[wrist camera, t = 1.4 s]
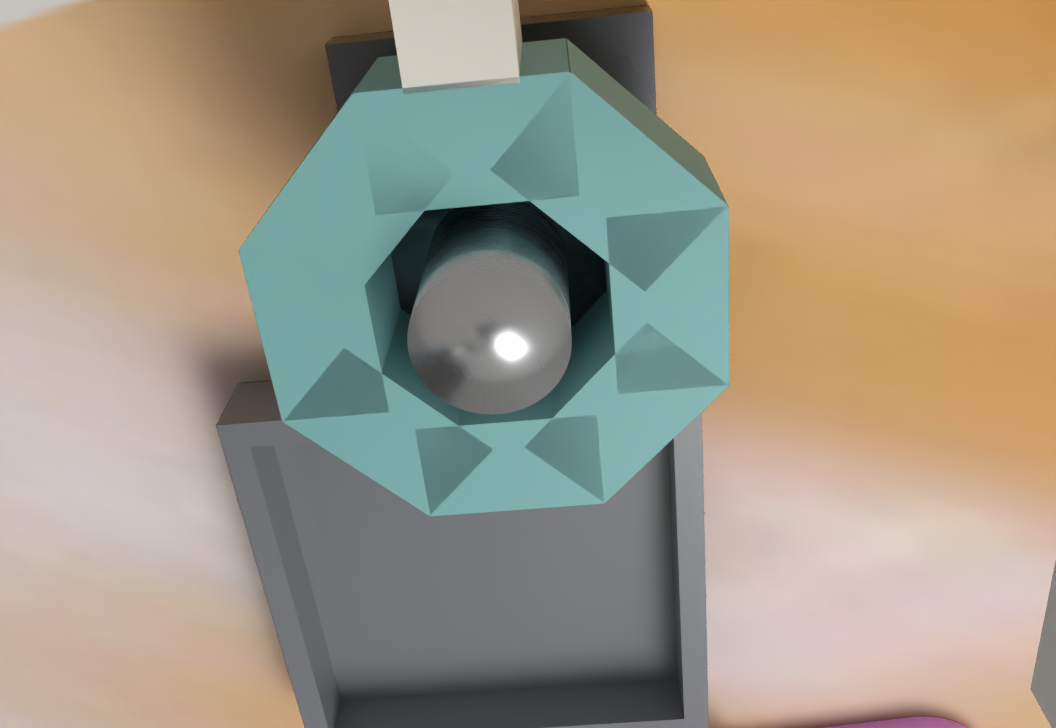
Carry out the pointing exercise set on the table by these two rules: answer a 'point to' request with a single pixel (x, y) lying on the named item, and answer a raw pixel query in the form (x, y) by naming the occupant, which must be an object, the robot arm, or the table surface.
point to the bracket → (906, 723)
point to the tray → (474, 592)
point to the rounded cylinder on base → (502, 244)
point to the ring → (482, 179)
